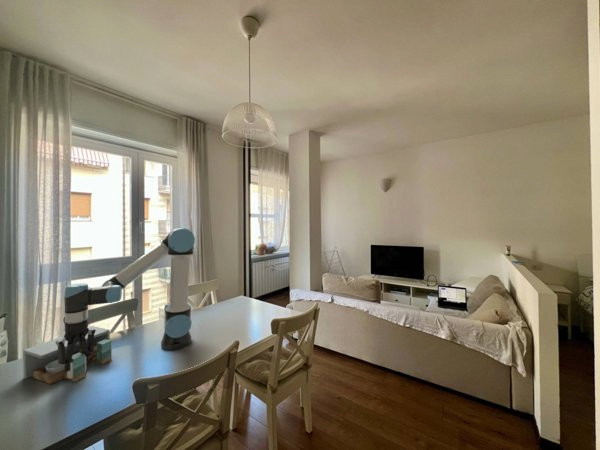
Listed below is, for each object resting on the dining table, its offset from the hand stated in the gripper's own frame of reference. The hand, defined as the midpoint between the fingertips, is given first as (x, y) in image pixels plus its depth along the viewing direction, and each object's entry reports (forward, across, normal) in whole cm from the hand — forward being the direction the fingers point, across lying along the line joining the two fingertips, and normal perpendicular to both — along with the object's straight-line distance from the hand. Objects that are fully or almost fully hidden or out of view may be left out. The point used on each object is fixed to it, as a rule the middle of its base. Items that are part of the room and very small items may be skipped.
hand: (76, 374), depth 107 cm
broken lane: (+2, -12, -10) cm, 16 cm away
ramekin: (+2, 0, -13) cm, 13 cm away
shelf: (+2, -5, -15) cm, 16 cm away
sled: (+2, 0, -8) cm, 8 cm away
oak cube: (+2, -12, -14) cm, 19 cm away
